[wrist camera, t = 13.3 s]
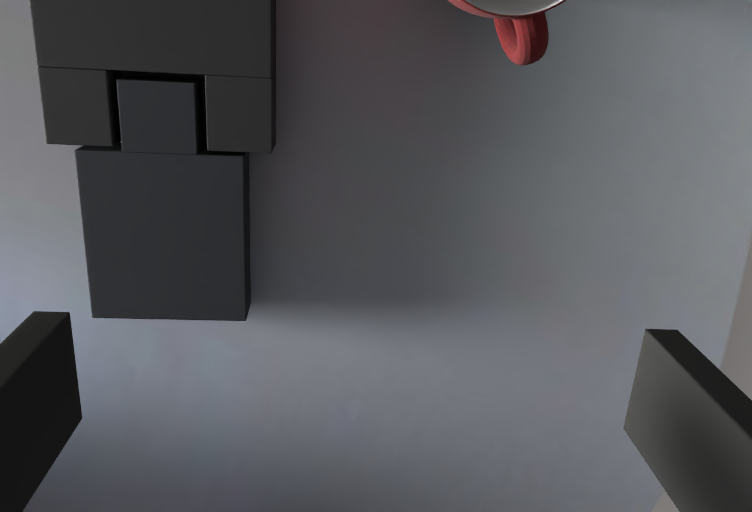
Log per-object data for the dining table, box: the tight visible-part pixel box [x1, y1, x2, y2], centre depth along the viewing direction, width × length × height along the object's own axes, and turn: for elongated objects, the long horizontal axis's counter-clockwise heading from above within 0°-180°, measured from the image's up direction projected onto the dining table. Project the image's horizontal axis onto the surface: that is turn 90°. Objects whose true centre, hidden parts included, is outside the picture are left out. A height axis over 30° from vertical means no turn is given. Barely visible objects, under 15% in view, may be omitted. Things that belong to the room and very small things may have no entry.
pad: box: [75, 76, 251, 321], centre depth 38 cm, size 9×14×2 cm, turn 177°
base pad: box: [30, 0, 276, 153], centre depth 34 cm, size 12×12×2 cm
